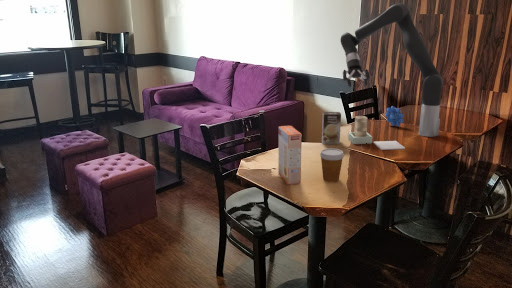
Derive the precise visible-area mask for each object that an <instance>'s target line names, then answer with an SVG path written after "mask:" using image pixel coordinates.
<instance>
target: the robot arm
mask: <svg viewBox="0 0 512 288" xmlns="http://www.w3.org/2000/svg"><path fill="white" fill-rule="evenodd" d="M394 23H396V24H397V26H398V28H399V29H400V31H401V34H402V40H403V44H404V47H405V50H406V52H407V54H408V56H409V59H410V60H411V61H412V62H413V63H414V64H415V66H416V67H417V68H418V69H419V72H420V73H421V75H422V78H423V83H422V89H421V90H422V91H421V93H422V94H421V106H420V107H421V109H420V116H419V126H418V135H420V136H422V137H429V138H430V137H431V138H433V137H437V136H439V133H440V132H439V131H440V124H441V123H440V122H441V119H440V109H441V101H442V99H441V96H442V90H443V89H442V88H443V85H444V79H443V76H442V74H440V72H439V71H438V69H437V68H436V66H435V65H434V62H433V60H432V58H431V55H430V52H429V50H428V48H427V46H426V44H425V42H424V40H423V38H422V37H421V34H420V33H419V31H418V29H417V27H416V26H415V23H414V20H413V19H412V16H411V14H410V10H409V8H408V7H407V5H406V4H404V3H402V2H399V3H395V4H394V3H393V5H392V4H391V6H389V7H388V8H387V9H386V10H385V11H384V12H383V13H381V14H380V15H379V16H376V18H374V19H372V20H370V21H368V22H367V23H364V24H363V25H361V26H360V27H358V28H356V29H355V30H354V34H355V35H353V34H352V33H350V32H348V31H347V32H346V31H345V32H344V33H342V35H341V37H340V44H341V46H342V47H341V48H342V49H343V51H344V54H345V62H346V67H347V70H346V69H344V70H343V71H342V80H343V81H344V82H347V83H346V84H347V86H348V87H349V88H351V87H352V81H351V79H352V78H353V79H360V80H362V82H363V87H364V88H365V87H367V85H368V81H369V79H370V78H371V77H370V74H369V71H368V69H365V70H363V68H362V65H361V59H360V56H359V52H358V48H357V46H358V45H359V44H360V43H361V42H362V41H363V40H365V39H367V38H369V37H371V36H372V35H373V34H375V33H377V31H379V30H381V29H382V28H384V27H386V26H388V25H391V24H394ZM347 74H348V77H347Z"/></svg>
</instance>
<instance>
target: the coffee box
mask: <svg viewBox="0 0 512 288" xmlns="http://www.w3.org/2000/svg"><path fill="white" fill-rule="evenodd" d="M341 120H342V113H341V112H340V111H322V123H321V124H322V125H321V126H322V127H321V129H322V130H321V144H323V145H340V143H341V142H340V139H341V127H342V124H341V123H342V121H341Z"/></svg>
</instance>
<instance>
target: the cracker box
mask: <svg viewBox="0 0 512 288" xmlns="http://www.w3.org/2000/svg"><path fill="white" fill-rule="evenodd" d="M302 136H303V135H302V133H301V132H300V131H299V130H297V129H296V128H295V127H294V126H293V125H281V126H278V170H277V171H278V175H280V177H281V178H282V180H284V181H285V183H286V185H298V184H301V183H302V182H301V181H302V140H303V139H302V138H303V137H302Z"/></svg>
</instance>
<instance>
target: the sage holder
mask: <svg viewBox="0 0 512 288" xmlns="http://www.w3.org/2000/svg"><path fill="white" fill-rule="evenodd" d="M347 139H348V140H349V141H350V142H351V143H352V145H360V144H363V145H365V144H366V143H367V144H373V136H372V135H371V134H370V133H369V132H367V133H366V137H354V131H353V132H352V131H350V132H349V131H348V135H347Z"/></svg>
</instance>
